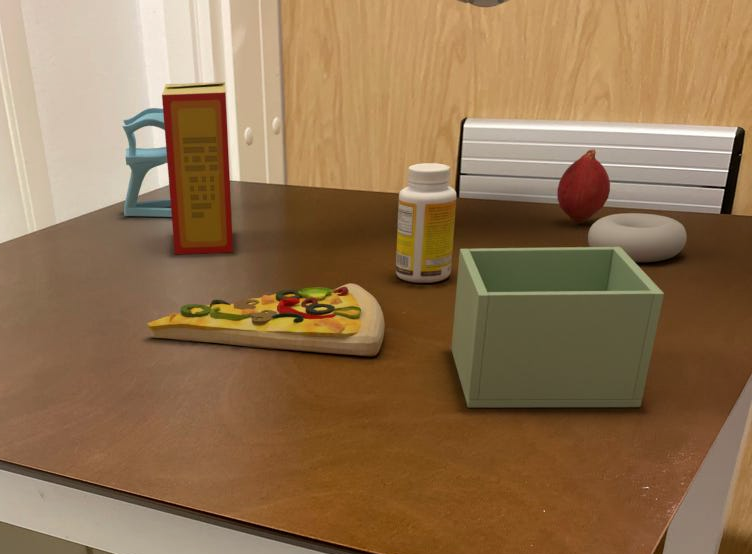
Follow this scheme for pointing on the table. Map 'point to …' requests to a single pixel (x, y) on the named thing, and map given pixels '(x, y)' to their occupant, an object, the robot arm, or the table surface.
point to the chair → (144, 165)
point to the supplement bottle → (426, 224)
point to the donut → (639, 235)
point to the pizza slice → (285, 321)
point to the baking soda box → (198, 167)
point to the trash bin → (553, 327)
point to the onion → (583, 188)
